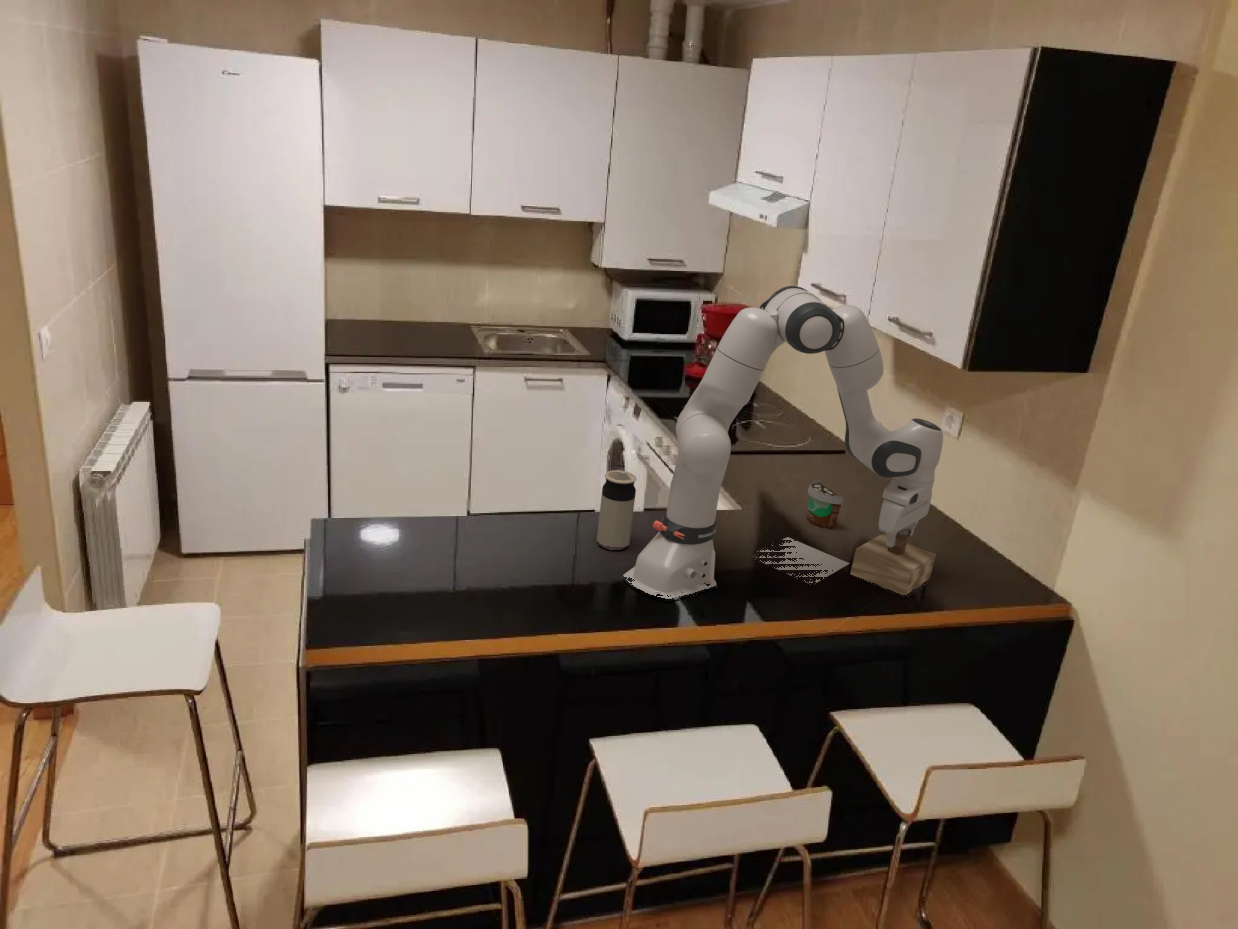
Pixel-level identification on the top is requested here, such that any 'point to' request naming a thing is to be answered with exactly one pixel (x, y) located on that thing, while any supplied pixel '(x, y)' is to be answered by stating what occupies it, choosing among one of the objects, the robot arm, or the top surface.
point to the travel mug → (616, 509)
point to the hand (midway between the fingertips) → (898, 540)
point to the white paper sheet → (807, 559)
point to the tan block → (893, 564)
